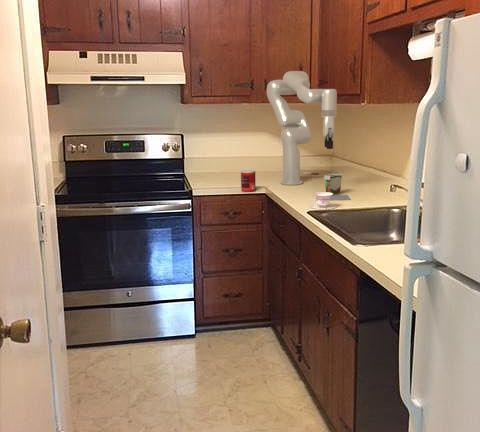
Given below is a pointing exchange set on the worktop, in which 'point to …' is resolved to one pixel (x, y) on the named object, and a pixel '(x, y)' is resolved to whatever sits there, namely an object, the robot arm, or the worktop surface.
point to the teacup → (323, 201)
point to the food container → (333, 183)
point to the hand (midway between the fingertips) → (328, 147)
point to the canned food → (248, 181)
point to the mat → (339, 197)
